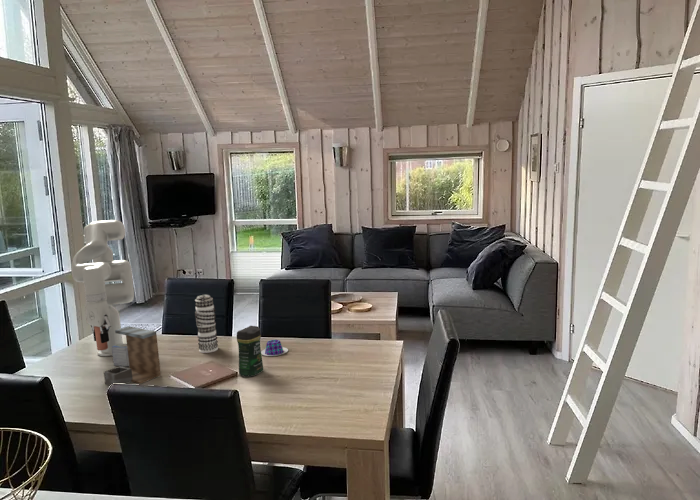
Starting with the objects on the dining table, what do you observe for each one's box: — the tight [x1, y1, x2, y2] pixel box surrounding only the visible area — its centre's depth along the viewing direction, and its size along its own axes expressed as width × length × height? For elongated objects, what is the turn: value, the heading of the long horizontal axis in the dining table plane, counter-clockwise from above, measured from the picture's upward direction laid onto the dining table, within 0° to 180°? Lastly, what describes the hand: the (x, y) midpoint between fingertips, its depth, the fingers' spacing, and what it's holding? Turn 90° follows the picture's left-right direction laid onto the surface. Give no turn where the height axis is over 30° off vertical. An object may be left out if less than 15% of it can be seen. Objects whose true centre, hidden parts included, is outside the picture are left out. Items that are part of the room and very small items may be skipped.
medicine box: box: [112, 343, 130, 368], centre depth 235 cm, size 8×4×9 cm, turn 71°
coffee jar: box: [236, 325, 264, 378], centre depth 216 cm, size 10×8×19 cm
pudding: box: [261, 339, 289, 357], centre depth 241 cm, size 12×12×5 cm
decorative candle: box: [194, 294, 219, 354], centre depth 247 cm, size 9×9×25 cm
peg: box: [94, 323, 108, 351], centre depth 221 cm, size 4×4×12 cm
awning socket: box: [103, 326, 162, 387], centre depth 217 cm, size 18×16×18 cm
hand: (101, 340), depth 221 cm, fingers closed on peg, 4 cm apart
